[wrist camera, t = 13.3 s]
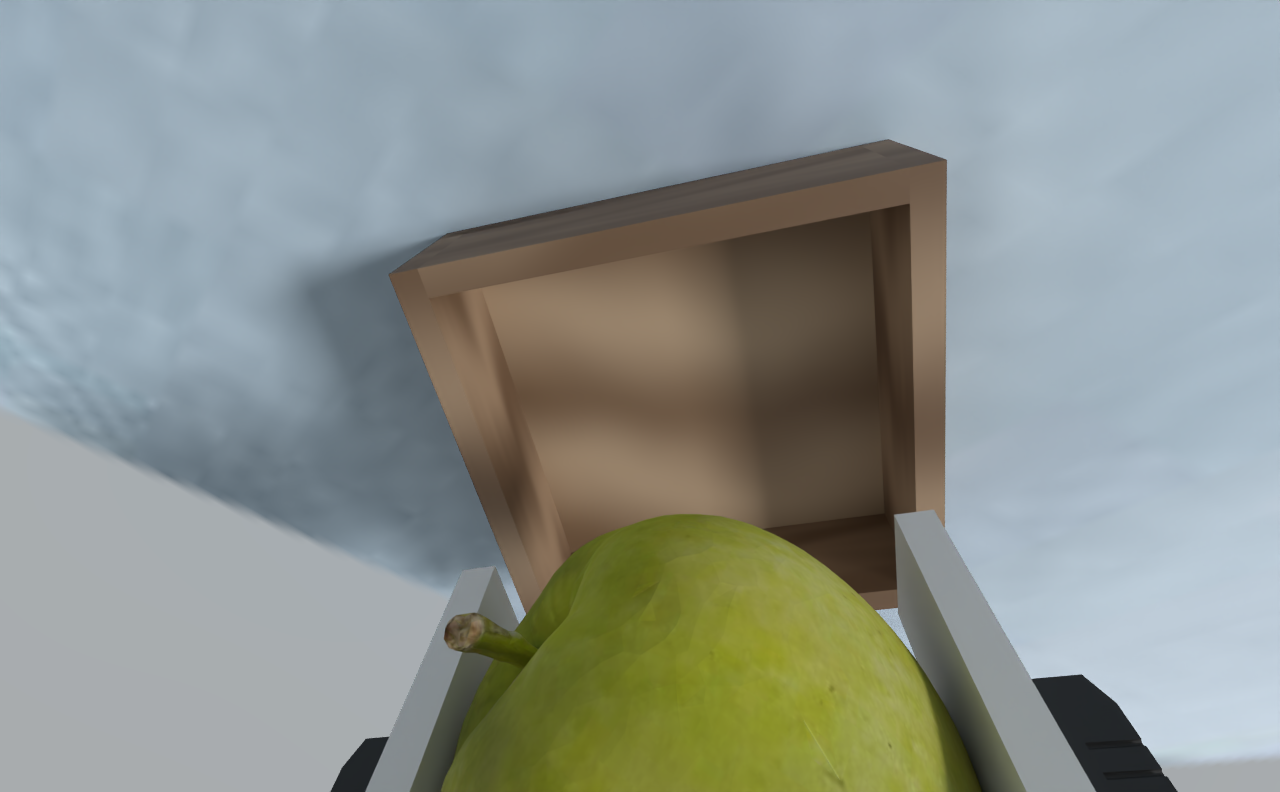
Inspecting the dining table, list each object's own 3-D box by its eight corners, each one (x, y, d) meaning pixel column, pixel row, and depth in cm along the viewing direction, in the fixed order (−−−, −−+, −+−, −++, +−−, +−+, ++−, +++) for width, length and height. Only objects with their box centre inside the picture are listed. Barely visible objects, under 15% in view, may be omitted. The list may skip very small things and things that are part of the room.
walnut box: (447, 233, 20) (388, 274, 16) (888, 139, 18) (946, 159, 14) (561, 556, 26) (538, 644, 22) (901, 513, 24) (943, 603, 20)
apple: (589, 340, 11) (426, 803, 4) (974, 556, 13) (1327, 1147, 6) (430, 605, 15) (190, 1112, 7) (754, 749, 16) (808, 1274, 9)
